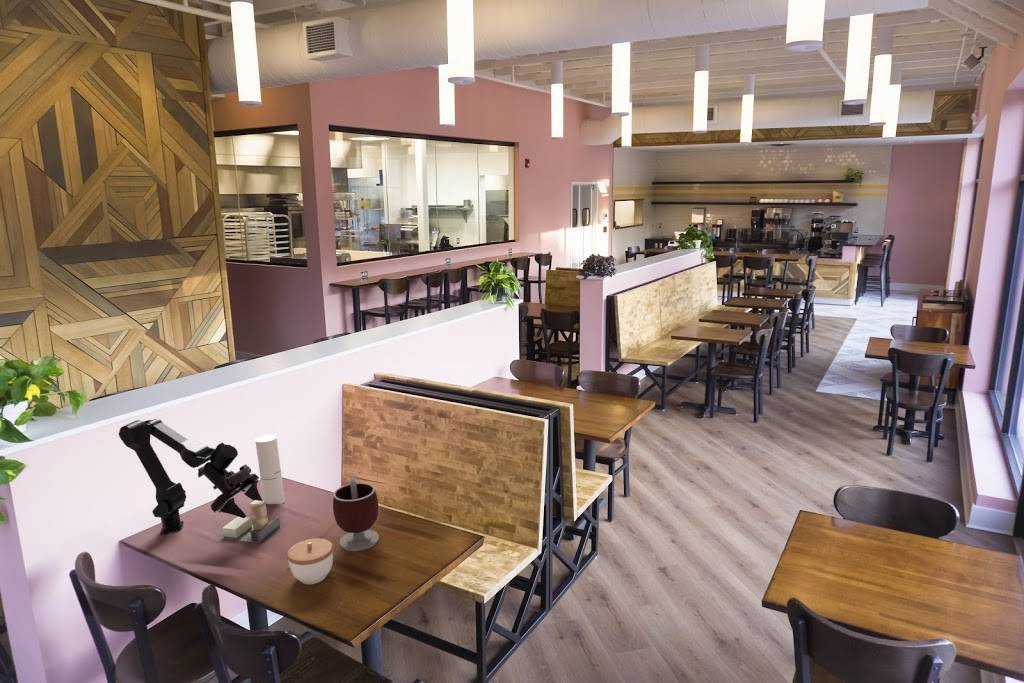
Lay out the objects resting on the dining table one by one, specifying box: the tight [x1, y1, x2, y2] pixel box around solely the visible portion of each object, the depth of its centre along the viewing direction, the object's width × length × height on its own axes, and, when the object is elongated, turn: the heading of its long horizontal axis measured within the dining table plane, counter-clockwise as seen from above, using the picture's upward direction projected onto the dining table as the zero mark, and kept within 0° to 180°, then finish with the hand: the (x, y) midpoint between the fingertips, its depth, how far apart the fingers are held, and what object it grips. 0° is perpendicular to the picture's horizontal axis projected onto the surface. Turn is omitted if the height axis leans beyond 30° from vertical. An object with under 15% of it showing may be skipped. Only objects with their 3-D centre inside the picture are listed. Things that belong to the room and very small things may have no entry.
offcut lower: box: [222, 521, 252, 538], centre depth 224 cm, size 5×8×2 cm, turn 165°
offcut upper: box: [222, 516, 252, 534], centre depth 224 cm, size 5×8×2 cm, turn 165°
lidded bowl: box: [286, 537, 334, 585], centre depth 197 cm, size 13×13×11 cm
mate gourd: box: [332, 472, 380, 552], centre depth 216 cm, size 16×14×20 cm
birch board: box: [249, 500, 269, 530], centre depth 221 cm, size 4×2×11 cm, turn 75°
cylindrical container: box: [254, 434, 286, 505], centre depth 244 cm, size 7×7×25 cm
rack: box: [214, 516, 283, 544], centre depth 223 cm, size 18×11×5 cm, turn 75°
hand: (254, 510), depth 221 cm, fingers open, 9 cm apart
